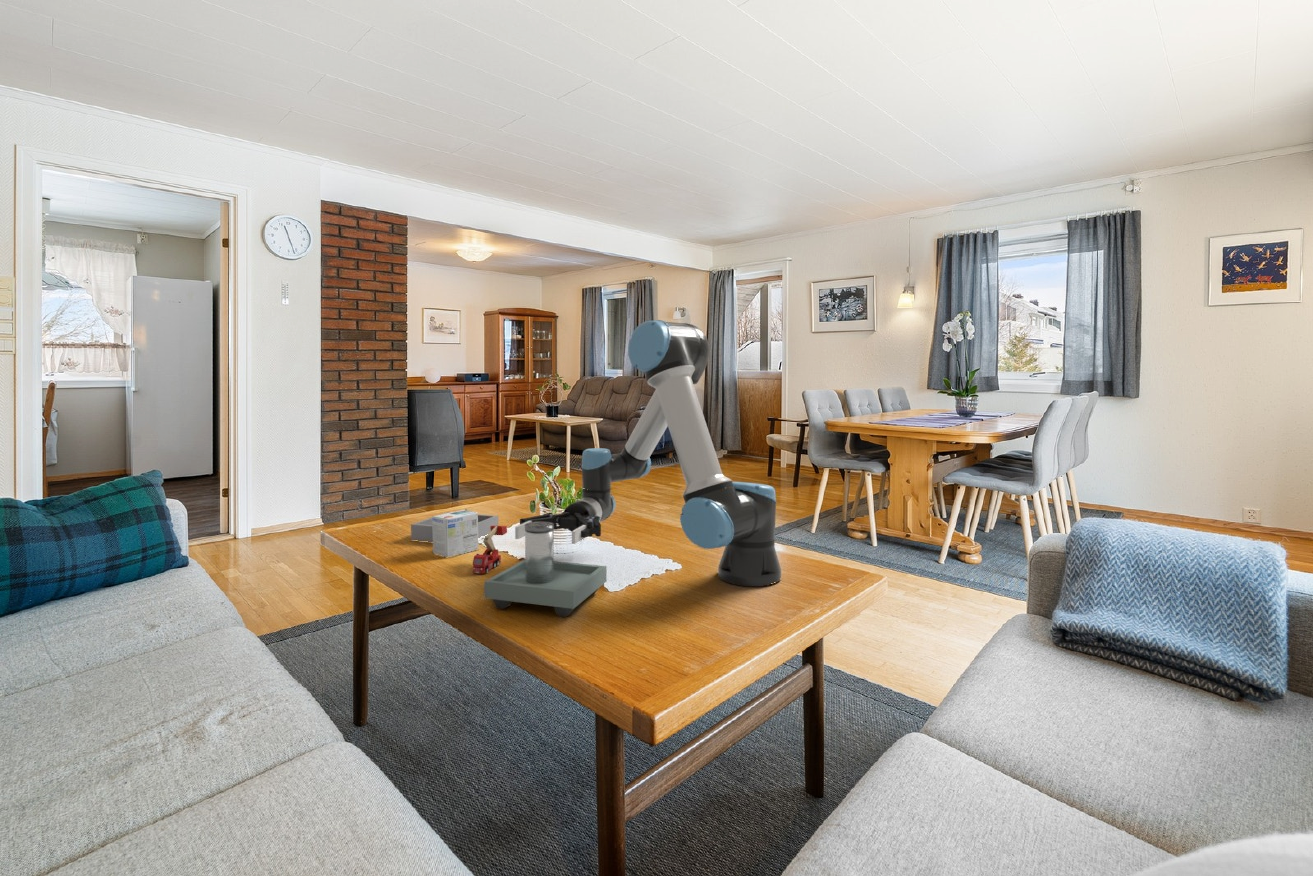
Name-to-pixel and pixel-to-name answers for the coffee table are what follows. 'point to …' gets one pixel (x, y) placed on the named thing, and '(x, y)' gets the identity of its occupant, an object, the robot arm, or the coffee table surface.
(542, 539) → the canister
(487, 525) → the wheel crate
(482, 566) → the toy fire truck
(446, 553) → the light bulb box
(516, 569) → the dolly
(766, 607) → the coffee table surface
